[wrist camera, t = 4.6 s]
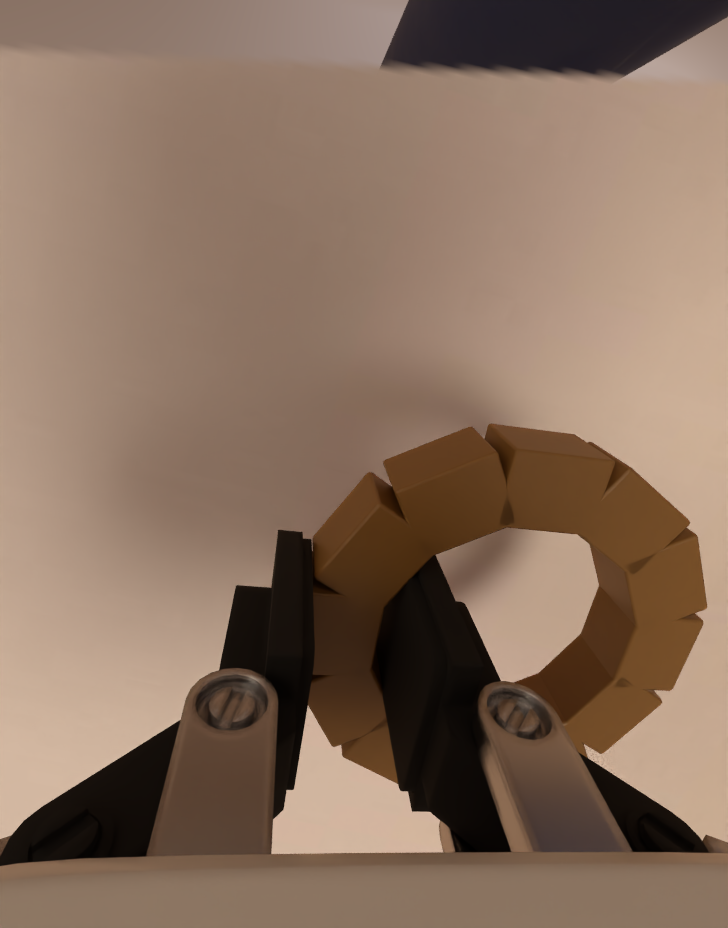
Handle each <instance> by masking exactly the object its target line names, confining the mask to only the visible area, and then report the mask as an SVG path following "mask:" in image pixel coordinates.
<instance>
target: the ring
mask: <svg viewBox="0 0 728 928" xmlns="http://www.w3.org/2000/svg"><path fill="white" fill-rule="evenodd" d="M383 464H384V467H385V469H386V472H387V475H388V477H389V480H390V482H391V485H392V487H391V486H390V485H389V484H387V483H386V482H385V481H383V480H382V479H380V478H379V477H378V476H376V475H375V474H373V473H372V472H368V473H367V474H366V475H365V476H364V477H363V479H362V480H361V481H360V482H359V483H358V485H357V486H356V487H355V488H354V489H353V490H352V492H351V493H350V494H349V495H348V496H347V497H346V499H345V500H344V501H343V502H342V503H341V504H340V506H339V507H338V508H337V509H336V510H335V512H334V513H333V514H332V515H331V516H330V517H329V519H328V520H327V521H326V522H325V523H324V524H323V526H322V527H321V528H320V529H319V530H318V531H317V533H316V534H315V535H314V536H313V551H312V574H313V605H314V637H315V656H314V668H313V675H312V681H311V687H310V694H309V700H308V706H309V707H310V709H311V711H312V713H313V714H314V716H315V718H316V719H317V721H318V723H319V725H320V726H321V728H322V730H323V732H324V733H325V735H326V737H327V738H328V740H329V742H330V744H331V745H332V746H333V747H336V746H338V745H341V746H342V755H343V757H344V758H346V759H348V760H350V761H352V762H354V763H356V764H359V765H361V766H363V767H365V768H367V769H369V770H371V771H373V772H375V773H377V774H379V775H381V776H383V777H385V778H387V779H389V780H391V781H393V782H395V783H397V784H398V780H397V774H396V769H395V763H394V757H393V752H392V746H391V741H390V735H389V730H388V724H387V718H386V713H385V707H384V702H383V686H382V681H381V675H380V670H379V664H378V659H377V654H376V645H377V640H378V636H379V631H380V626H381V621H382V617H383V612H384V607H385V606H386V605H387V604H388V603H389V602H390V601H391V600H392V599H393V598H394V597H395V596H396V594H397V593H398V592H399V591H400V590H401V589H402V588H403V587H404V586H405V585H406V584H407V583H408V581H409V579H411V578H412V577H413V576H414V575H415V574H416V573H417V572H418V571H419V570H420V569H421V568H422V567H423V566H424V565H425V563H426V562H427V561H428V560H429V559H430V558H431V557H432V556H434V555H436V554H439V553H441V552H444V551H447V550H449V549H452V548H454V547H457V546H460V545H462V544H465V543H467V542H470V541H473V540H475V539H478V538H480V537H483V536H486V535H488V534H491V533H493V532H496V531H499V530H501V529H504V528H506V527H508V528H518V529H528V530H539V531H549V532H559V533H569V534H578V535H579V536H580V537H581V538H583V539H584V540H585V541H586V542H588V543H589V544H590V548H591V552H592V556H593V561H594V565H595V569H596V573H597V578H598V582H599V587H598V590H597V592H596V595H595V598H594V600H593V603H592V606H591V608H590V611H589V614H588V616H587V619H586V622H585V624H584V627H583V630H582V632H581V634H580V635H579V636H578V637H577V638H576V639H575V640H574V641H573V642H572V643H570V644H569V645H568V646H567V647H566V648H565V649H564V650H563V651H562V652H561V653H560V654H559V655H558V656H556V657H555V658H554V659H553V660H552V661H551V662H550V663H549V664H548V665H547V666H546V667H545V668H544V669H543V670H541V671H540V672H539V673H538V674H535V675H533V676H530V677H527V678H525V679H522V680H519V681H516V682H514V683H517V684H520V685H523V686H525V687H528V688H530V689H531V690H533V691H535V692H536V693H538V694H540V695H541V696H542V697H543V698H544V699H545V700H546V701H548V702H549V703H550V704H551V706H552V707H553V708H554V710H555V711H556V713H557V714H558V716H559V718H560V720H561V721H562V723H563V725H564V727H565V729H566V731H567V732H568V734H569V736H570V738H571V740H572V742H573V743H574V745H575V747H576V749H577V751H578V752H579V753H580V754H582V755H584V756H585V757H587V754H586V750H585V747H584V744H585V745H587V746H588V747H590V748H592V749H593V750H595V751H597V752H598V753H600V754H602V753H604V752H605V751H606V750H608V749H609V748H610V747H611V746H612V745H613V744H615V743H616V742H617V741H618V740H619V739H621V738H622V737H623V736H624V735H625V734H626V733H628V732H629V731H630V730H631V729H632V728H634V727H635V726H636V725H637V724H638V723H639V722H641V721H642V720H643V719H644V718H645V717H646V716H648V715H649V714H650V713H651V712H652V711H654V710H655V709H656V708H657V707H658V706H659V705H661V703H662V701H661V699H660V698H659V696H658V695H657V694H656V693H655V691H654V690H665V691H670V690H672V689H673V687H674V685H675V683H676V681H677V679H678V677H679V674H680V672H681V670H682V668H683V666H684V664H685V662H686V660H687V658H688V655H689V653H690V651H691V649H692V647H693V645H694V643H695V641H696V639H697V636H698V634H699V632H700V630H701V628H702V626H703V620H702V619H701V618H700V617H698V616H697V615H696V614H695V613H697V612H699V611H702V610H705V609H706V608H707V602H706V594H705V587H704V580H703V572H702V565H701V558H700V550H699V543H698V537H697V535H696V534H695V533H693V532H692V531H691V530H689V529H688V528H686V527H687V526H688V525H689V524H690V522H689V520H688V519H687V518H686V517H685V516H684V515H683V514H682V513H681V512H679V511H678V510H677V509H676V508H675V507H674V506H673V505H672V504H671V503H670V502H668V501H667V500H666V499H665V498H664V497H663V496H662V495H661V494H660V493H659V492H657V491H656V490H655V489H654V488H653V487H652V486H651V485H650V484H649V483H648V482H646V481H645V480H644V479H643V478H642V477H641V476H640V475H639V474H638V473H637V472H635V471H634V470H633V469H632V468H631V467H629V466H628V465H626V464H625V463H623V462H622V461H620V460H618V459H617V458H615V457H614V456H612V455H611V454H609V453H608V452H606V451H605V450H603V449H602V448H600V447H598V446H597V445H595V444H594V443H592V442H588V443H587V442H585V441H584V440H582V439H581V438H579V437H578V436H576V435H574V434H566V433H559V432H551V431H543V430H536V429H528V428H520V427H513V426H505V425H497V424H489V425H488V427H487V431H486V435H485V439H484V438H483V437H482V436H481V435H480V434H479V433H478V432H477V431H476V430H475V429H474V428H473V427H468V428H465V429H462V430H460V431H457V432H455V433H452V434H450V435H447V436H445V437H442V438H440V439H437V440H434V441H432V442H429V443H427V444H424V445H422V446H419V447H417V448H414V449H412V450H409V451H406V452H404V453H401V454H399V455H396V456H394V457H391V458H389V459H386V460H384V461H383ZM587 758H588V757H587Z"/></svg>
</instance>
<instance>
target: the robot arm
mask: <svg viewBox="0 0 728 928" xmlns="http://www.w3.org/2000/svg"><path fill="white" fill-rule="evenodd" d="M376 654H377V659H378V664H379V670H380V675H381V681H382V686H383V702H384V707H385V713H386V718H387V724H388V730H389V735H390V741H391V746H392V752H393V757H394V763H395V769H396V774H397V780H398V785H399V788H400V790H401V791H408V793H409V798H410V803H411V808H412V811H424V812H431V813H432V814H433V815H435V816H436V817H437V818H438V819H439V820H440V824H439V833H440V840H441V844H442V849H443V853H329V854H271V848H272V826H273V819H274V818H275V817H276V816H277V815H278V814H279V813H280V812H281V811H282V810H283V809H284V802H285V796H286V790H293V789H294V785H295V779H296V773H297V767H298V761H299V755H300V748H301V742H302V736H303V730H304V724H305V718H306V712H307V706H308V700H309V694H310V687H311V681H312V675H313V668H314V656H315V637H314V605H313V574H312V542H311V539H303V532H296V531H285V530H278V537H277V545H276V554H275V562H274V570H273V579H272V587H271V588H267V587H253V586H240V585H237V586H236V589H235V594H234V599H233V604H232V609H231V614H230V619H229V624H228V629H227V634H226V639H225V644H224V649H223V654H222V659H221V664H220V669H219V671H215V672H212V673H210V674H208V675H206V676H205V677H203V678H201V679H200V680H199V681H198V682H197V683H196V684H195V685H194V686H193V687H192V688H191V689H190V691H189V694H188V696H187V698H186V701H185V705H184V709H183V713H182V717H181V720H180V721H178V722H176V723H175V724H173V725H172V726H170V727H168V728H167V729H165V730H164V731H162V732H161V733H159V734H157V735H156V736H154V737H153V738H151V739H149V740H148V741H146V742H145V743H143V744H141V745H140V746H138V747H137V748H135V749H133V750H132V751H130V752H129V753H127V754H125V755H124V756H122V757H121V758H119V759H118V760H116V761H114V762H113V763H111V764H110V765H108V766H106V767H105V768H103V769H102V770H100V771H98V772H97V773H95V774H94V775H92V776H90V777H89V778H87V779H86V780H84V781H82V782H81V783H79V784H78V785H76V786H75V787H73V788H71V789H70V790H68V791H67V792H65V793H63V794H62V795H60V796H59V797H57V798H55V799H54V800H52V801H51V802H49V803H47V804H46V805H44V806H43V807H41V808H40V809H39V810H37V811H36V812H35V813H33V814H32V815H31V816H30V817H28V818H27V819H26V820H24V821H23V823H22V824H21V825H20V826H19V827H18V828H17V830H16V831H15V832H14V833H13V834H12V835H11V836H8V837H5V838H2V839H0V928H728V843H727V842H725V841H722V840H719V839H716V838H714V837H711V836H708V835H706V836H705V837H704V839H703V841H702V840H701V839H700V838H699V836H698V835H697V834H696V833H695V832H694V831H693V830H692V829H691V828H690V827H689V826H688V825H687V824H686V823H685V822H684V821H682V820H681V819H680V818H678V817H677V816H676V815H675V814H673V813H672V812H670V811H669V810H667V809H666V808H664V807H663V806H661V805H660V804H658V803H657V802H655V801H653V800H652V799H650V798H649V797H647V796H646V795H644V794H643V793H641V792H639V791H638V790H636V789H635V788H633V787H632V786H630V785H629V784H627V783H625V782H624V781H622V780H621V779H619V778H618V777H616V776H615V775H613V774H612V773H610V772H608V771H607V770H605V769H604V768H602V767H601V766H599V765H598V764H596V763H594V762H593V761H591V760H590V759H588V758H587V757H585V756H584V755H582V754H580V753H579V752H578V751H577V749H576V747H575V745H574V743H573V742H572V740H571V738H570V736H569V734H568V732H567V731H566V729H565V727H564V725H563V723H562V721H561V720H560V718H559V716H558V714H557V713H556V711H555V710H554V708H553V707H552V706H551V704H550V703H549V702H548V701H546V700H545V699H544V698H543V697H542V696H541V695H540V694H538V693H536V692H535V691H533V690H531V689H530V688H528V687H525V686H523V685H520V684H517V683H513V682H507V681H501V680H500V678H499V676H498V674H497V672H496V669H495V667H494V665H493V663H492V661H491V659H490V656H489V654H488V652H487V650H486V648H485V646H484V643H483V641H482V639H481V637H480V635H479V633H478V630H477V628H476V626H475V624H474V622H473V620H472V618H471V615H470V613H469V611H468V609H467V607H466V605H465V604H464V603H462V602H457V601H455V599H454V596H453V594H452V592H451V590H450V587H449V585H448V583H447V580H446V578H445V576H444V574H443V571H442V569H441V567H440V564H439V562H438V560H437V558H436V555H434V556H432V557H431V558H430V559H429V560H428V561H427V562H426V563H425V565H424V566H423V567H422V568H421V569H420V570H419V571H418V572H417V573H416V574H415V575H414V576H413V577H412V578H411V579H409V581H408V583H407V584H406V585H405V586H404V587H403V588H402V589H401V590H400V591H399V592H398V593H397V594H396V596H395V597H394V598H393V599H392V600H391V601H390V602H389V603H388V604H387V605H386V606H385V607H384V612H383V617H382V621H381V626H380V631H379V636H378V640H377V645H376Z"/></svg>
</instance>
